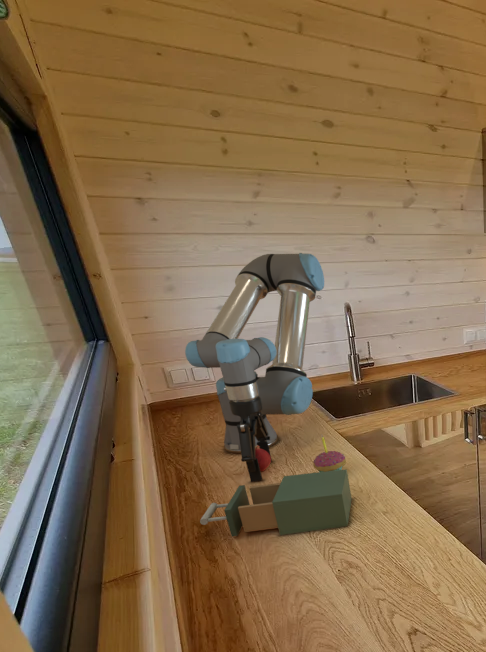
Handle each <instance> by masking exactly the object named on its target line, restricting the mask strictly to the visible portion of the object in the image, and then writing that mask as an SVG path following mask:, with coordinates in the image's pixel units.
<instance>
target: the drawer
mask: <svg viewBox="0 0 486 652" xmlns="http://www.w3.org/2000/svg"><path fill="white" fill-rule="evenodd" d="M280 484H281V482H277V483H270V484H260V485H251V486H249V488H248V489H249V494H250V496H251V501H252V504H251V503H250V500H249V497H248V492H247V488H246V485H245V484H241V485H238V487H237V488H236V491H235V492H234V494H233V495H232V497H231V498H230V500H229V501H228V503H220V504H218V503H217V502H212V503H210V505H209V506H208V508H207V509H206V510H205V512H204V513H203V515H202V516H201V518H200V519H199V523H200V524H201V525H202V526H205V525H208V523H210V522H218V521H227V524H228V525H227V526H228V529H229V531H230V536H231V537H233V538H234V537H238V536H239V534H240V532H241V531H242V528H243V531H244V533H248V532H257V531H264V530H274V529H278V525H277V520H276V516H275V512H274V508H273V504H272V502H273V499H274V497H275V495H276V493H277V490H278V488H279V486H280ZM218 508H219V509H221V508H224V510H223V511H224V514H225V516H216V517H213V515H214V514H215V512H216V511H217V509H218Z"/></svg>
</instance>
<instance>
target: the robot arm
mask: <svg viewBox="0 0 486 652" xmlns="http://www.w3.org/2000/svg"><path fill="white" fill-rule="evenodd" d="M234 284H235V286H234V287H233V289H232V291H231V292H230V294H229V296H228V297H227V299H226V300H225V302H224V304H223V305H222V307H221V309H220V310H219V312H218V314H217V315H216V316H215V318H214V319H213V321H212V322H211V325H210V326H209V328H208V329H207V331H206V332H205V335H204V336H203V337H202V339H195V340H191V341H189V342H188V343H186V346H185V350H184V353H185V358H186V360H187V362H188V363H189V364H190V365H191V366H192V367H194V368H203V369H214V368H217V369H220V371H221V375H222V376H221V378H219V379H217V381H215V389H216V396H217V397H218V402H219V405H220V409H221V413H222V417H223V420H224V423H225V430H224V439H223V445H224V449H225V451H226V452H227V453H230V454H239V455H241V459H240V460H241V462H243V463H244V462H245V463H246V468H247V471H248V475H249V479H250V482H251V483H252V482H253V483H254V482H261V481H263V476H262V472H260V468H259V463H258V459H257V458H256V456H255V446H257V445H258V446H260V447H259V448H260V449H264V450H265V451H267V452H268V453H269V455H270V457H271V463H272V462H273V458H272V455H271V454H272V453H271V451H270V447H272V446H274V445H275V444H276V443H278V440H279V437H278V433H277V432H276V430H275V429H274V427H273V426H272V424H271V423H270V421H269V419H268V418H267V415H286V416H292V415H300V414H303V413H305V412H306V411H307V410H308V409H309V407H310V405H311V402H312V401H313V396H314V395H313V394H314V389H313V384H312V381H311V379H310V378H309V377H307V375H308V374H307V373H306V371H305V370H304V369H303V366H304V356H305V348H306V340H307V330H308V321H309V311H310V304H311V302H312V301H314V300H315V299H316V296H317V295H316V294H317V292H320V291H322V290H323V289H324V287H325V275H324V270H323V269H322V265H321V263H320V261H319V259H318V258H317V257H316V256H315V255H314V254H312V253H303V252H299V253H266V254H262V255H259V256H258V257H256V258H254V259H252V260H251V261H250V262H249V263H247V264H246V265H245V266H244V267H243V268H242V269H241V270H240V272H238V274H237V276H236V277H235V280H234ZM271 292H277V294H279V296H280V301H279V309H278V317H277V325H276V332H275V342H274V343H273V341H271V339H269V338H267V337H263V336H259V337H254V338H252V339H244V338H240V336H241V334H242V332H243V330H244V329H245V327H246V325H247V324H248V323H249V320H250V318H251V316H252V315H253V313H254V311H255V309H256V307H257V306H258V304H259V302H260V301H261V300H263V299H265V298H266V297H267V296H268V293H269V294H270V293H271ZM271 362H272V363H271ZM270 363H271V364H270ZM269 364H270V365H269ZM267 365H268V366H267ZM264 366H267V367H266V368H265V375H264V376H259V375H258V373H257V371H256V370H258V369H260V368H261V367H262V368H263V367H264Z"/></svg>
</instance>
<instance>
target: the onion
mask: <svg viewBox="0 0 486 652" xmlns="http://www.w3.org/2000/svg"><path fill="white" fill-rule="evenodd" d="M259 447H260V446H258V445H257V446H255V456H256V458H257V459H258V463H259V468H260V472H261V473H262V472H265V471H266V470H267V469H268V468H269V466H270V465H271V463H272V462H271V459H272V456H271V457H270V455H269V453H268V452H267V451H265V450H264V449H260V448H259Z"/></svg>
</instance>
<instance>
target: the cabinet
mask: <svg viewBox="0 0 486 652" xmlns="http://www.w3.org/2000/svg"><path fill="white" fill-rule="evenodd" d="M348 474H349V473H348V469H342V470H336V471H327V472H319V471H318V472H310V473H309V472H308V473H301V474H299V473H298V474H291V475H284V476H283V477H282V480H281V482H280V483H281V484H280V486H279V488H278V490H277V493H276V495H275V497H274V499H273V502H272V504H273V508H274V512H275V516H276V520H277V525H278V528H277V529H278V532H279V536H284V535H292V534H301V533H307V532H314V531H315V532H316V531H323V530H330V529H338V528H339V529H340V528H346V527H348V526H349V520H350V513H351V506H352V501H353V498H352V493H351V486H350V480H349V475H348Z"/></svg>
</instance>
